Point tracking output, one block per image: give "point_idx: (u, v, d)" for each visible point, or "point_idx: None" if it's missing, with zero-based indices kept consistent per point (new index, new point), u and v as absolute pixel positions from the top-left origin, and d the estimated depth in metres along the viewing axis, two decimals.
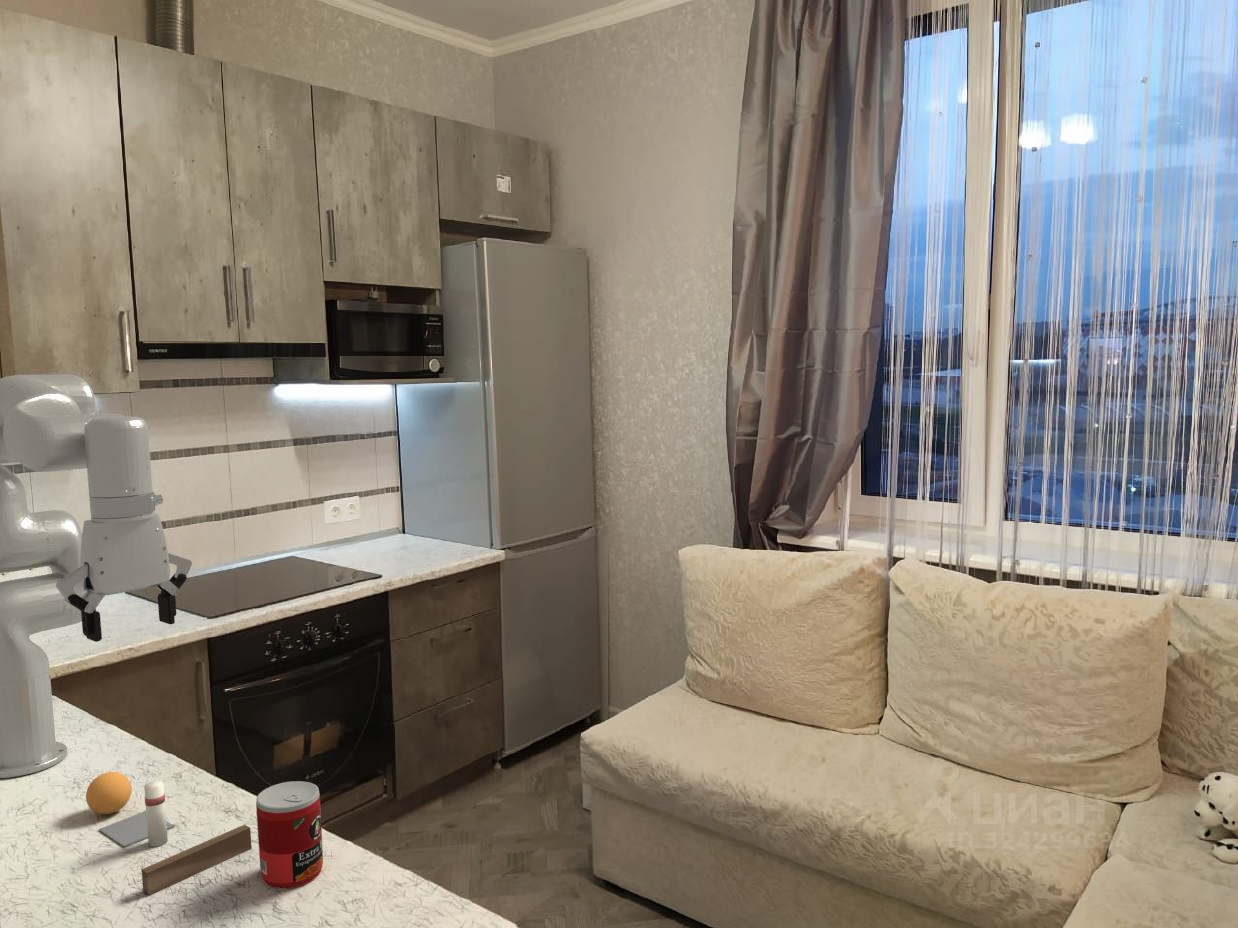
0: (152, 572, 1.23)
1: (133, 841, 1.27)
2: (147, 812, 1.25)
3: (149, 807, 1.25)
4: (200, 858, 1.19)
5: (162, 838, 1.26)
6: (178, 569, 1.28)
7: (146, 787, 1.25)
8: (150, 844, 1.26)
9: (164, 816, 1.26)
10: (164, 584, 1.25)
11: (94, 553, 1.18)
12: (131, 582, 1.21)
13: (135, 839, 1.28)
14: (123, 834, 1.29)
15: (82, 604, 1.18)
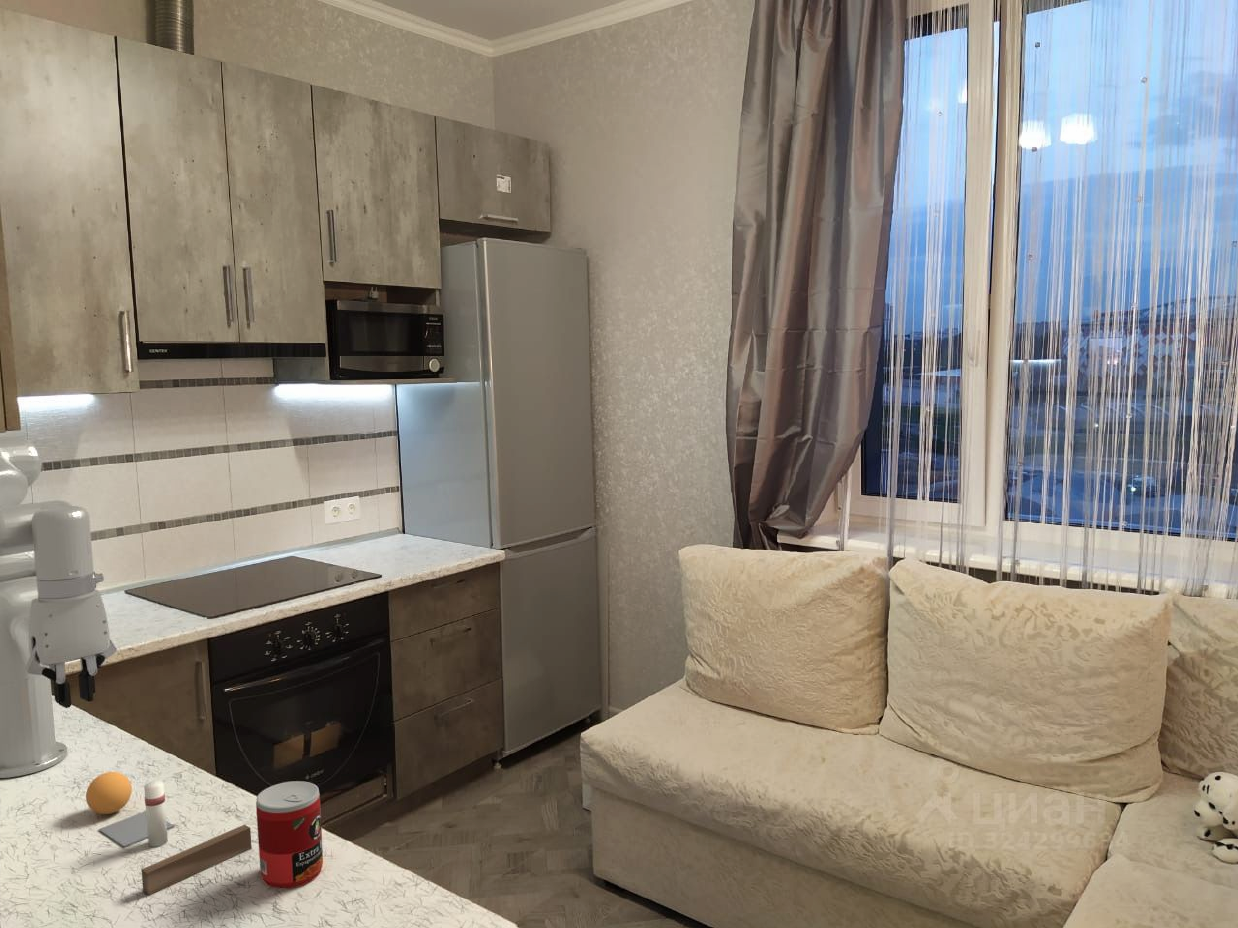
0: (93, 643, 1.40)
1: (133, 841, 1.27)
2: (147, 812, 1.25)
3: (149, 807, 1.25)
4: (200, 858, 1.19)
5: (162, 838, 1.26)
6: None
7: (146, 787, 1.25)
8: (150, 844, 1.26)
9: (164, 816, 1.26)
10: (90, 661, 1.40)
11: (40, 629, 1.34)
12: (74, 653, 1.38)
13: (135, 839, 1.28)
14: (123, 834, 1.29)
15: (52, 680, 1.37)
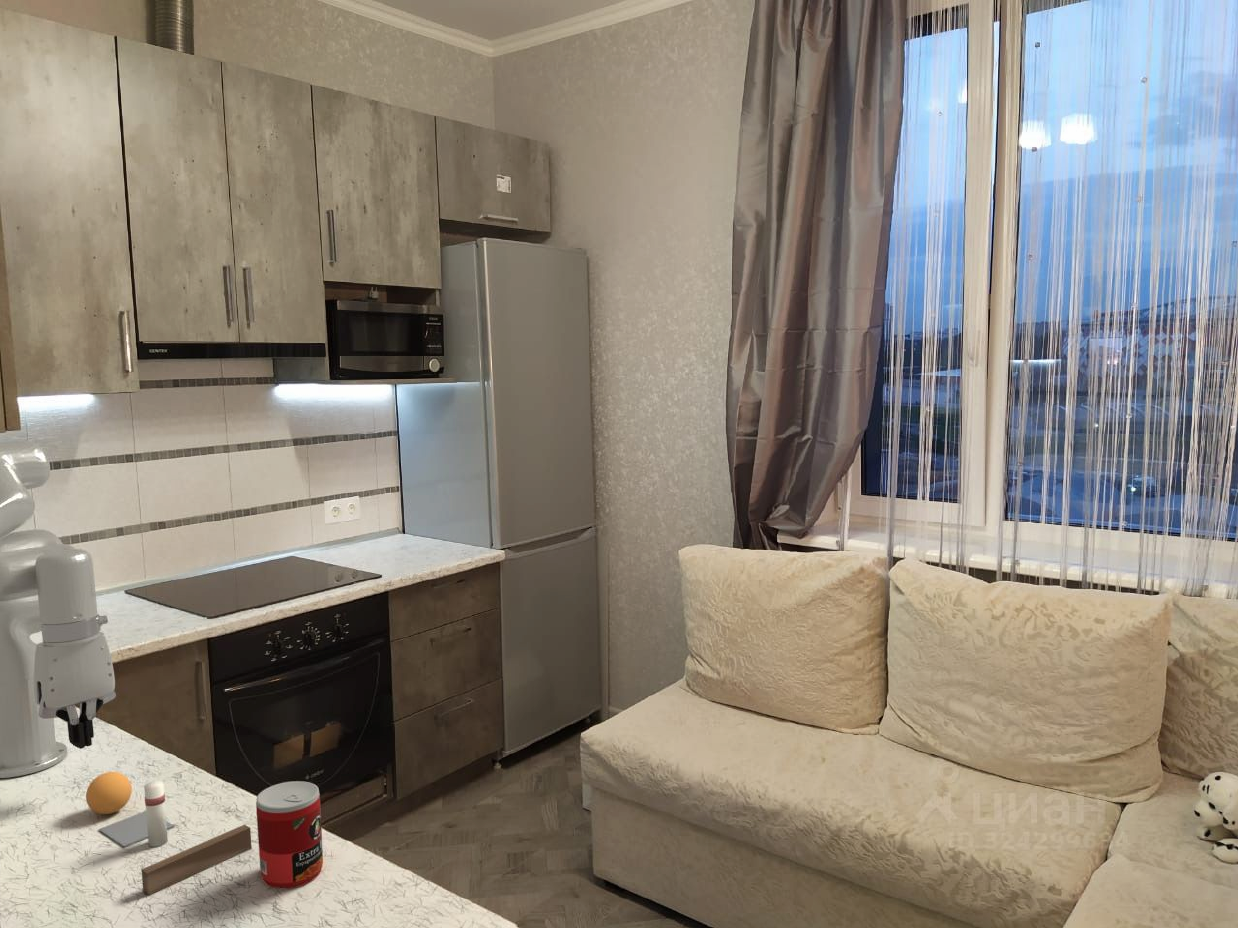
0: (98, 685, 1.40)
1: (133, 841, 1.27)
2: (147, 812, 1.25)
3: (149, 807, 1.25)
4: (200, 858, 1.19)
5: (162, 838, 1.26)
6: None
7: (146, 787, 1.25)
8: (150, 844, 1.26)
9: (164, 816, 1.26)
10: (90, 704, 1.40)
11: (45, 673, 1.35)
12: (79, 696, 1.38)
13: (135, 839, 1.28)
14: (123, 834, 1.29)
15: (67, 722, 1.38)
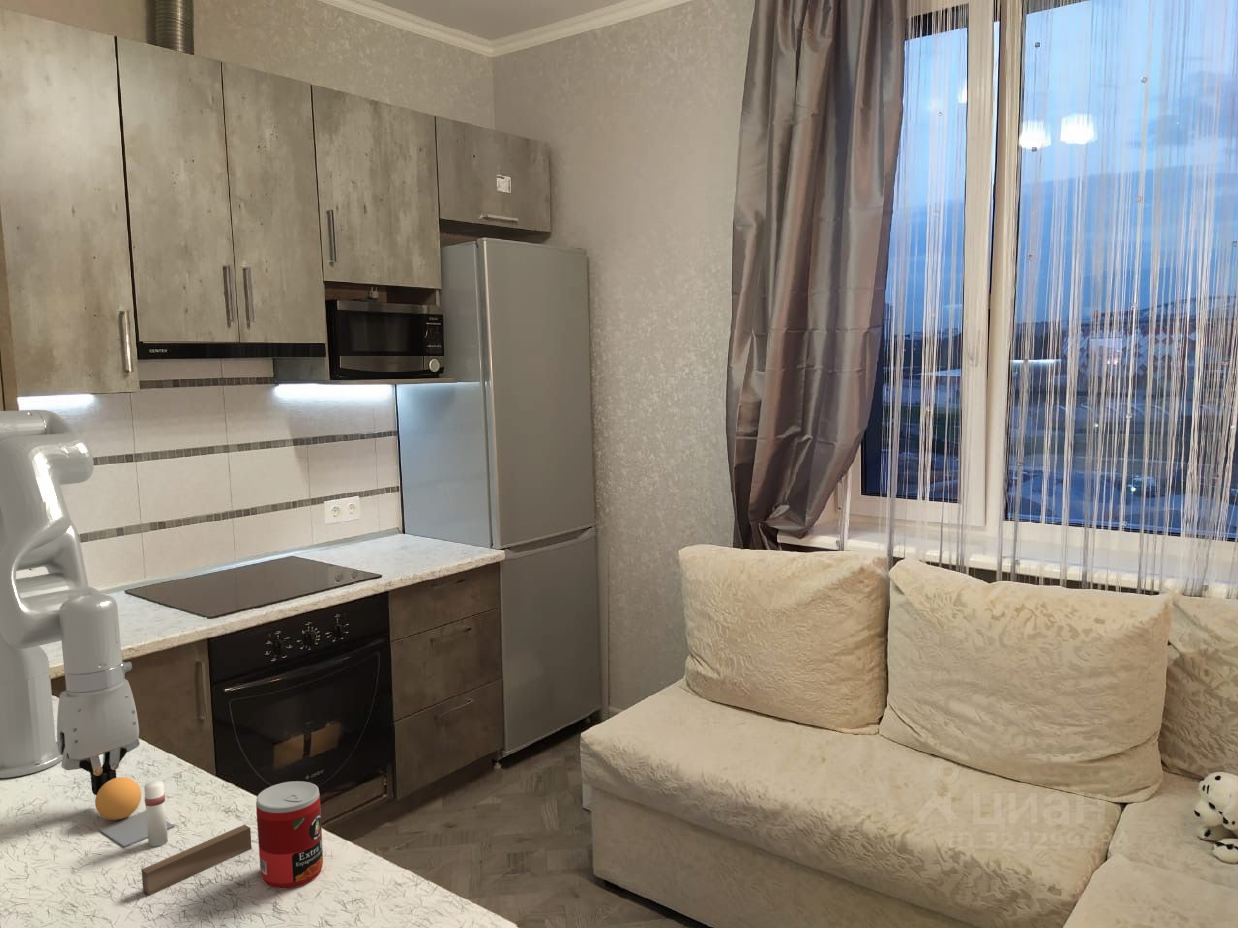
0: (122, 734, 1.36)
1: (133, 841, 1.27)
2: (147, 812, 1.25)
3: (149, 807, 1.25)
4: (200, 858, 1.19)
5: (162, 838, 1.26)
6: None
7: (146, 787, 1.25)
8: (150, 844, 1.26)
9: (164, 816, 1.26)
10: (114, 754, 1.36)
11: (69, 724, 1.31)
12: (103, 746, 1.34)
13: (135, 839, 1.28)
14: (123, 834, 1.29)
15: (90, 773, 1.34)
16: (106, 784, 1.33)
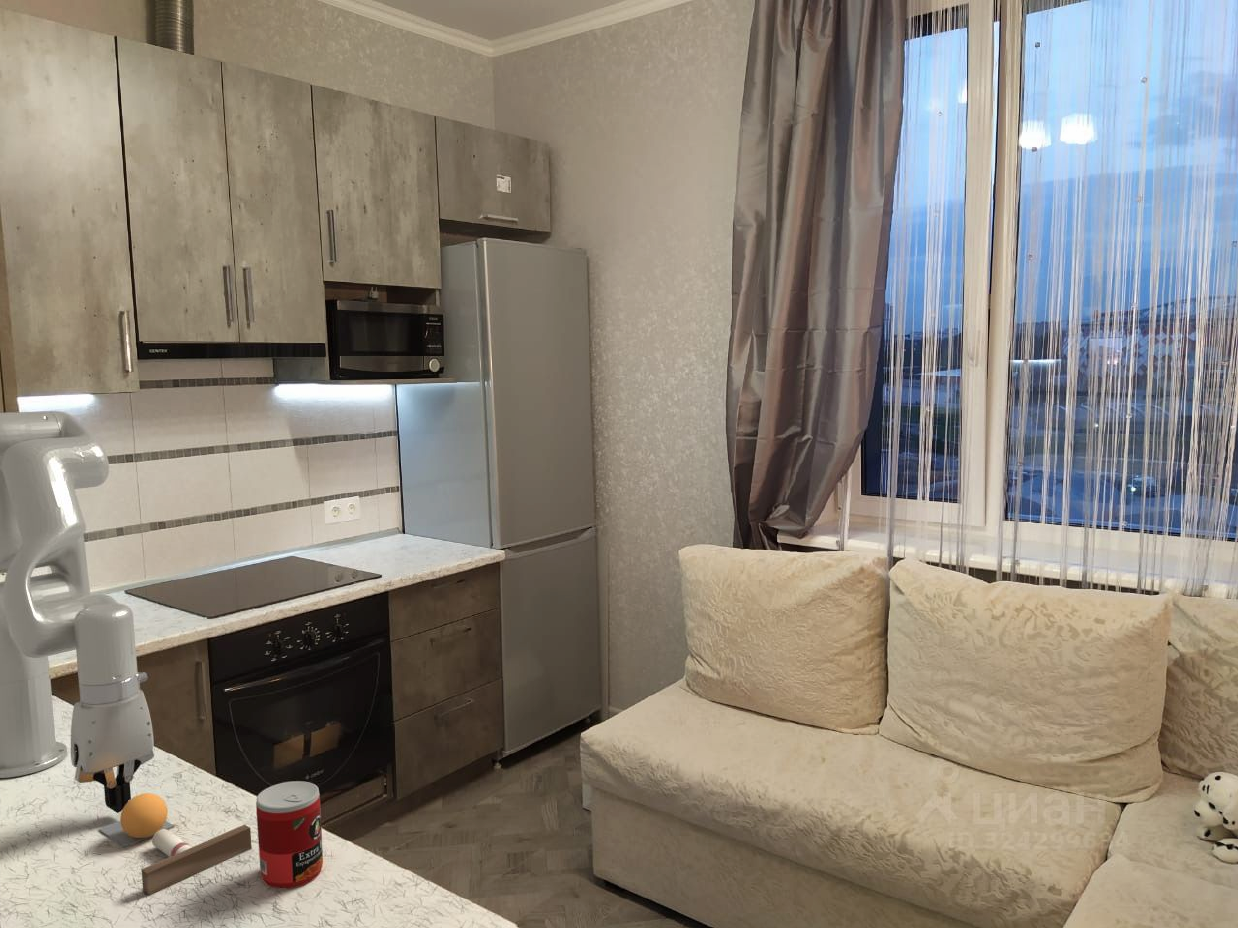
0: (137, 746, 1.34)
1: (133, 841, 1.27)
2: (168, 854, 1.22)
3: None
4: (200, 858, 1.19)
5: None
6: None
7: None
8: (153, 844, 1.25)
9: None
10: (128, 766, 1.34)
11: (83, 737, 1.28)
12: (117, 758, 1.31)
13: (135, 839, 1.28)
14: (123, 834, 1.29)
15: (104, 786, 1.31)
16: (140, 837, 1.27)
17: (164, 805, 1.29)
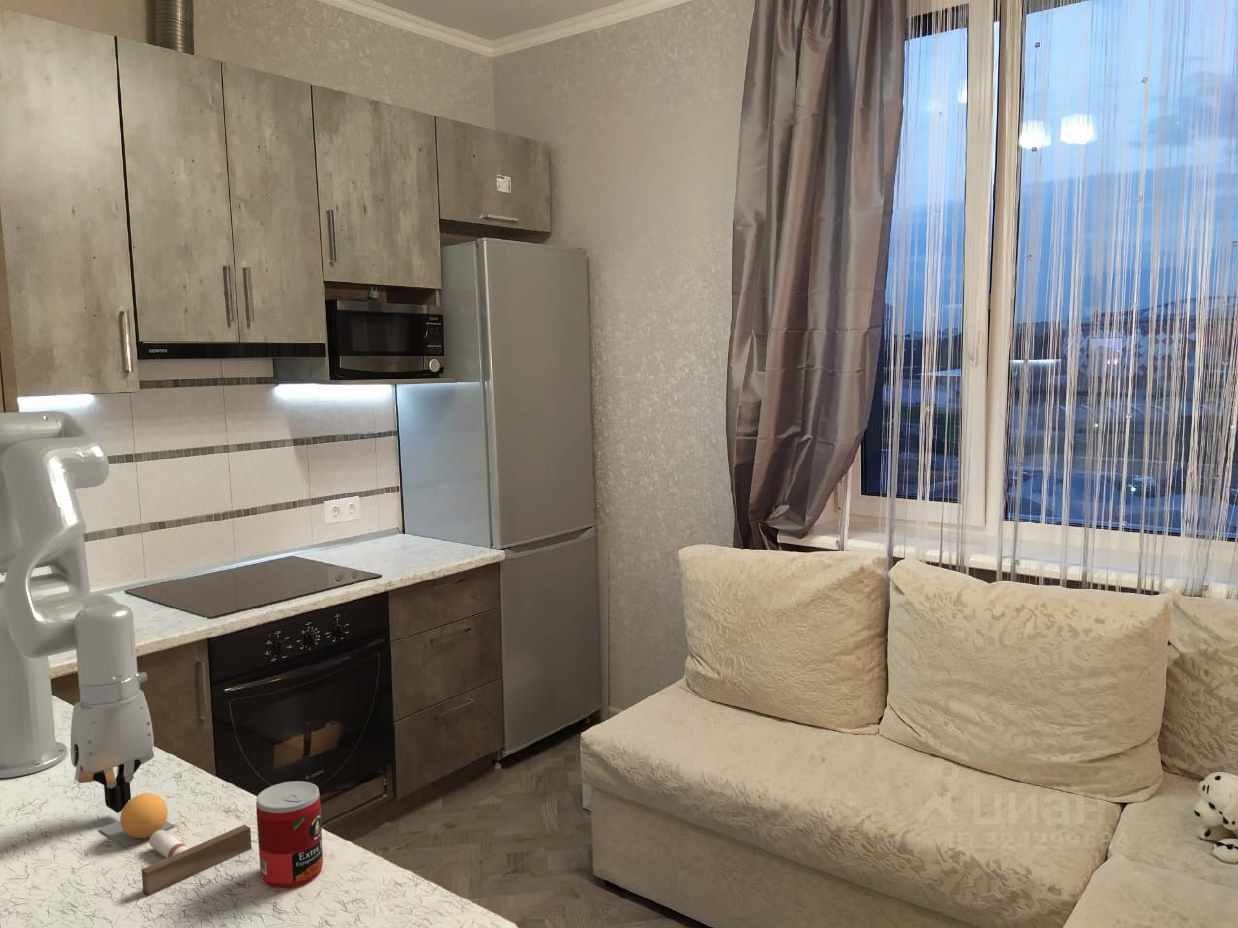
0: (137, 746, 1.34)
1: (133, 841, 1.27)
2: (166, 857, 1.22)
3: None
4: (200, 858, 1.19)
5: None
6: None
7: None
8: (152, 846, 1.25)
9: None
10: (128, 766, 1.34)
11: (83, 737, 1.28)
12: (117, 758, 1.31)
13: (135, 839, 1.28)
14: (123, 834, 1.29)
15: (104, 786, 1.31)
16: (140, 837, 1.27)
17: (164, 805, 1.29)
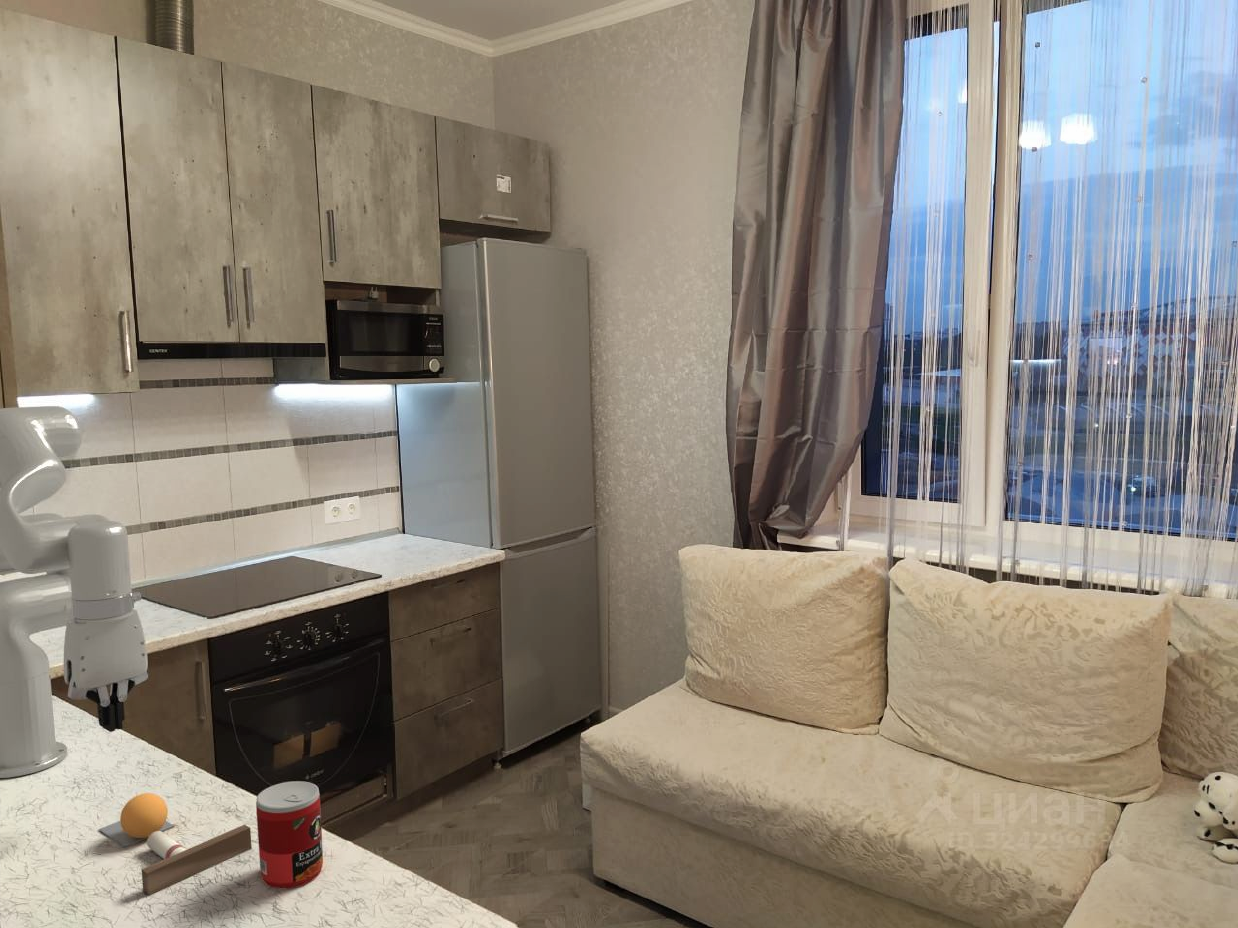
0: (131, 666, 1.32)
1: (133, 841, 1.27)
2: None
3: None
4: (200, 858, 1.19)
5: None
6: None
7: None
8: None
9: None
10: (122, 685, 1.32)
11: (76, 652, 1.27)
12: (111, 676, 1.30)
13: (135, 839, 1.28)
14: (123, 834, 1.29)
15: (97, 704, 1.30)
16: (140, 837, 1.27)
17: (164, 805, 1.29)
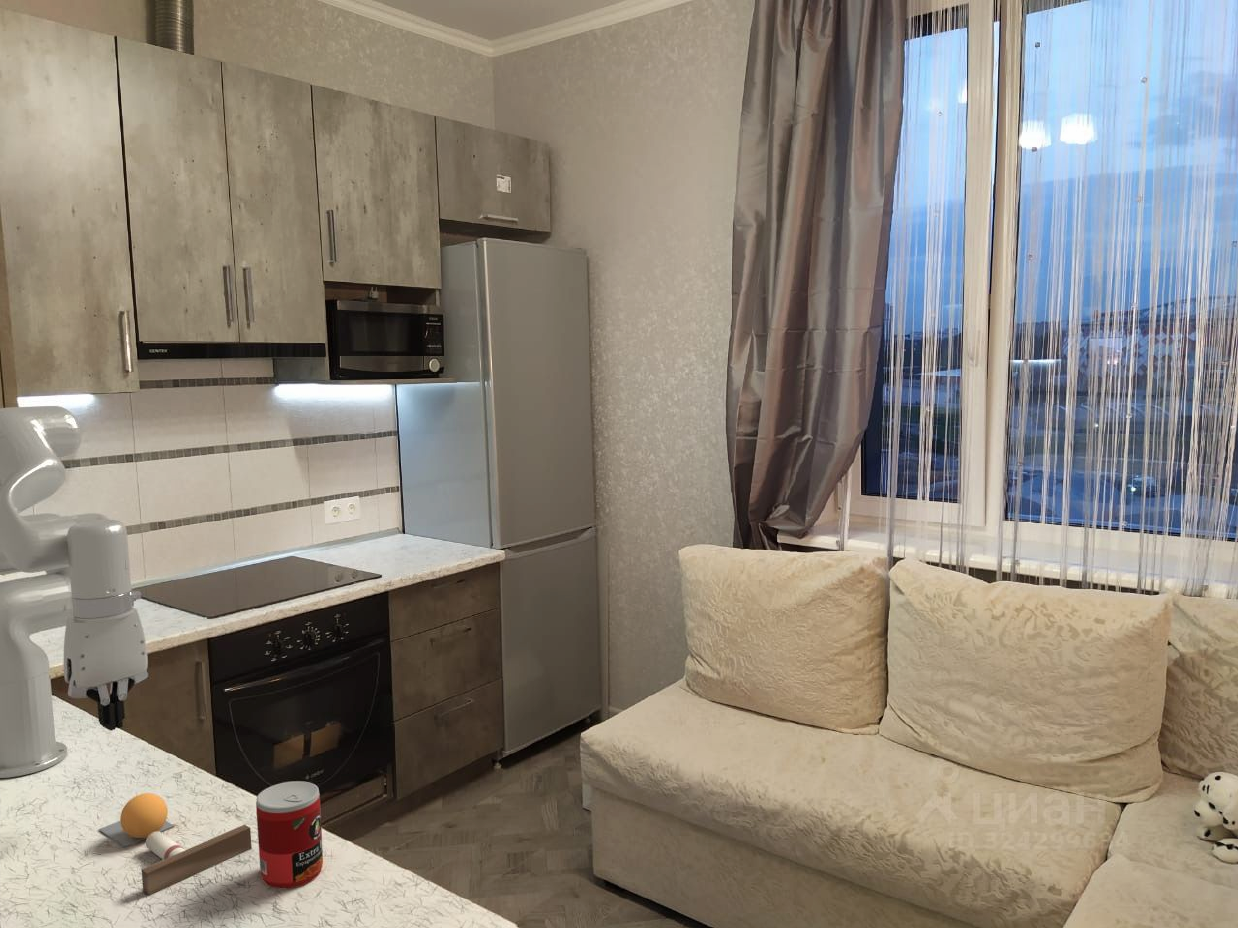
0: (131, 664, 1.32)
1: (133, 841, 1.27)
2: None
3: None
4: (200, 858, 1.19)
5: None
6: None
7: None
8: None
9: None
10: (122, 684, 1.32)
11: (76, 651, 1.27)
12: (111, 675, 1.30)
13: (135, 839, 1.28)
14: (123, 834, 1.29)
15: (97, 702, 1.30)
16: (140, 837, 1.27)
17: (164, 805, 1.29)
